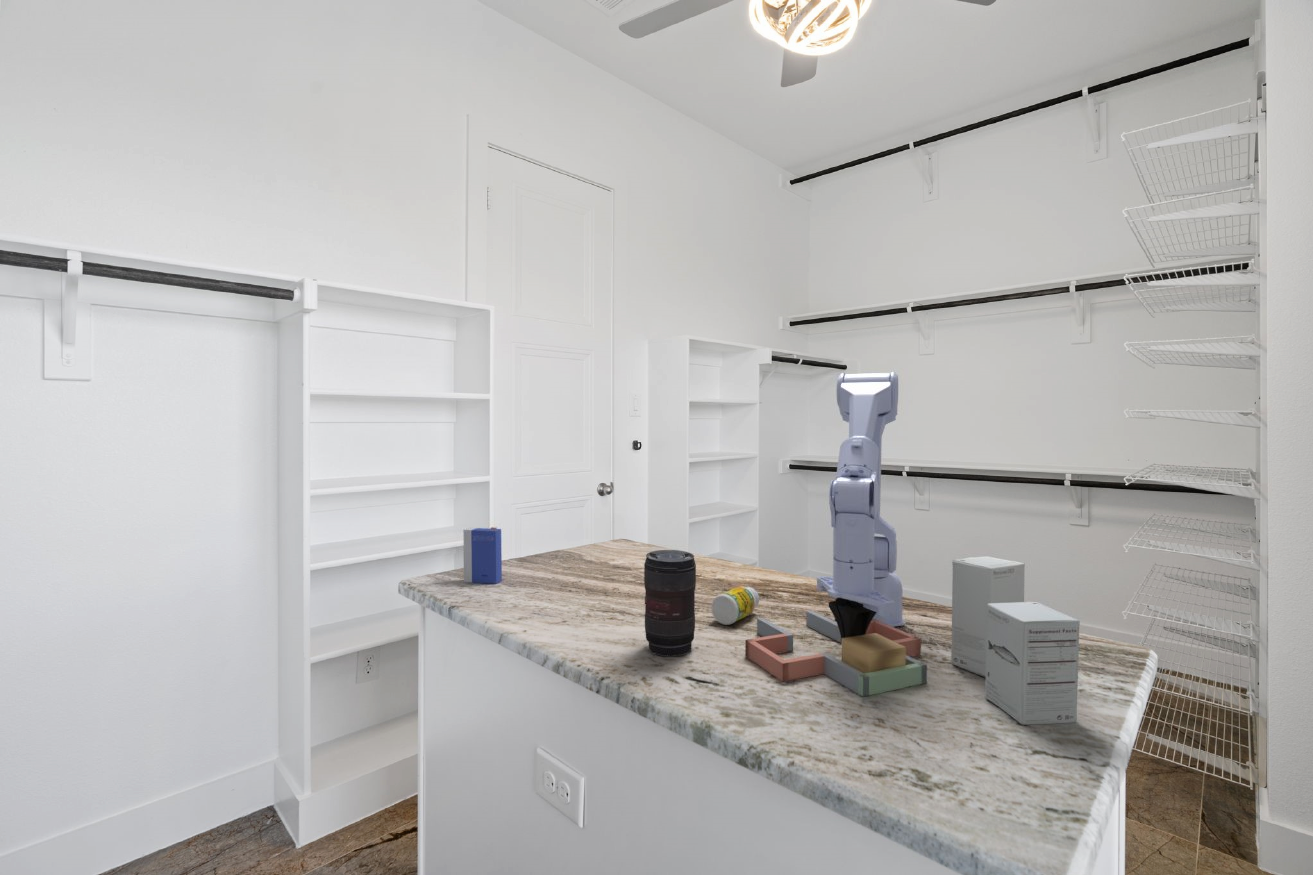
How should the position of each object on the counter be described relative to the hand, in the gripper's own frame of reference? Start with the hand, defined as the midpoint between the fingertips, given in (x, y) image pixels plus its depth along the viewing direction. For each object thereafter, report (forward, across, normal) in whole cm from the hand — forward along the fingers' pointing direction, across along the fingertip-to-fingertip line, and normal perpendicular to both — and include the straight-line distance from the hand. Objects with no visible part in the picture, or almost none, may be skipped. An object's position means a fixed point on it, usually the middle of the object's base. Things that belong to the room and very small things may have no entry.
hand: (852, 651), depth 92 cm
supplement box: (+2, +20, +11) cm, 23 cm away
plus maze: (+2, -4, 0) cm, 5 cm away
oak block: (+2, +4, 0) cm, 5 cm away
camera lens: (+2, -16, -22) cm, 28 cm away
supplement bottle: (0, -23, -9) cm, 25 cm away
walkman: (+2, -69, -44) cm, 82 cm away
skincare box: (+2, +8, +18) cm, 20 cm away
